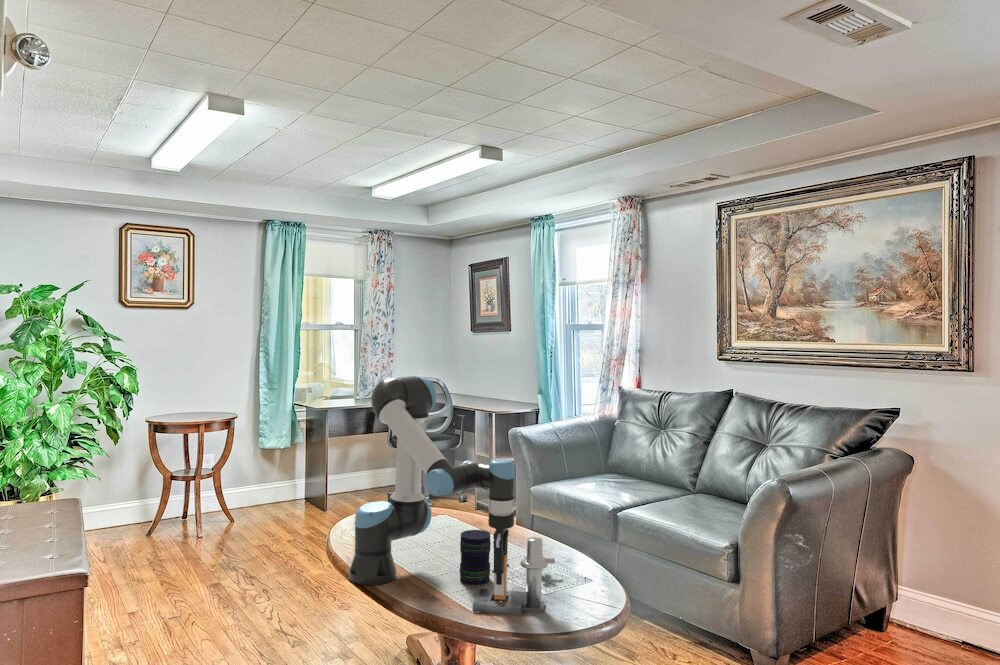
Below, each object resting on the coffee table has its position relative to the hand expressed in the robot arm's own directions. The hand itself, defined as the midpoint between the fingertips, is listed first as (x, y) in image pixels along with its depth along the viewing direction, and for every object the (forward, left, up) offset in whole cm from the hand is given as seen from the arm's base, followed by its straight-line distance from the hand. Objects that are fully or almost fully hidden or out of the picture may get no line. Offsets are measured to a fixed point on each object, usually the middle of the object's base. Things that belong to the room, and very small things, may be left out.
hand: (500, 591), depth 206 cm
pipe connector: (+9, +27, -4) cm, 29 cm away
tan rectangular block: (0, 0, -2) cm, 2 cm away
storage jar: (-11, +18, -4) cm, 22 cm away
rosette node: (+3, 0, -4) cm, 5 cm away
